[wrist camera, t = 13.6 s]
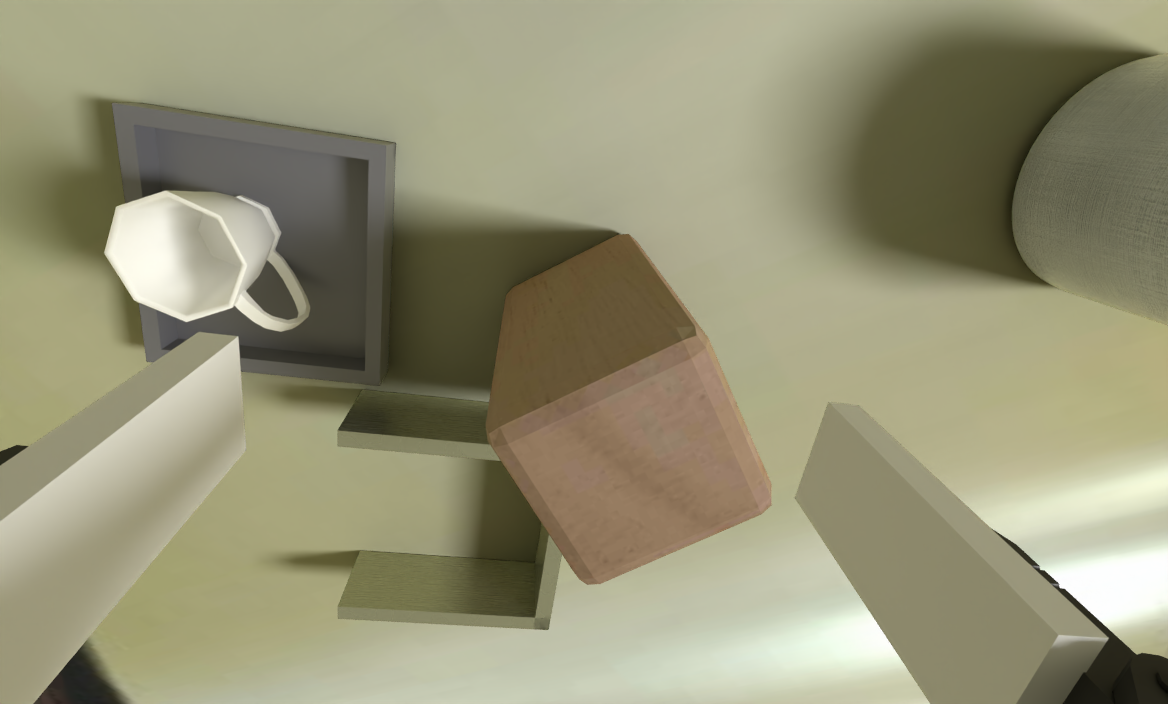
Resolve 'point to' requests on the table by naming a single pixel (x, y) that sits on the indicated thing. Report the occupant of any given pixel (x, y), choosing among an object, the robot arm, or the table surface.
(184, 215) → the cup
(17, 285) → the table surface
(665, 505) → the wooden block
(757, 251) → the table surface
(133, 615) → the table surface
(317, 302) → the tray
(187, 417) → the robot arm
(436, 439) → the bay
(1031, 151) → the planter
